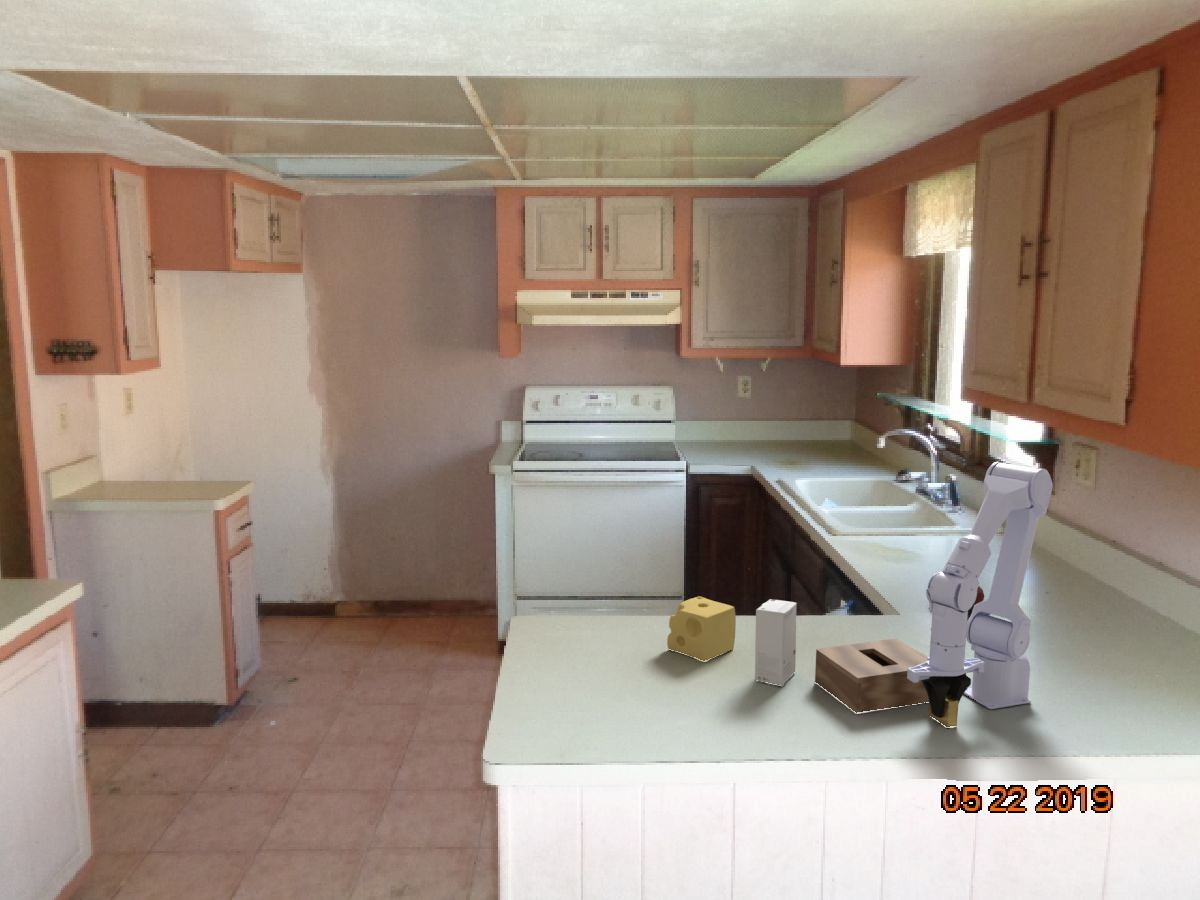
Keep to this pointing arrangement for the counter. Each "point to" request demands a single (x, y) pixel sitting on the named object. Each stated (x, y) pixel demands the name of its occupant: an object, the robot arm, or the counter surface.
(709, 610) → the cheese
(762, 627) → the skincare box
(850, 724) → the counter surface
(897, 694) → the coin box
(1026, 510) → the robot arm
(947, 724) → the block
